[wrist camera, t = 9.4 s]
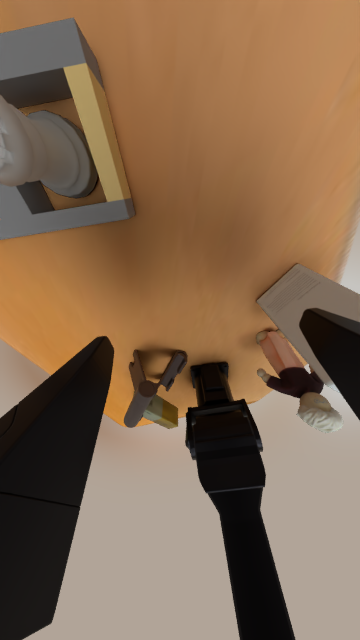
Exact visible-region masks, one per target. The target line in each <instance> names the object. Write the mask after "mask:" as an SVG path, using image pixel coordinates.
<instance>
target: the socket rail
mask: <svg viewBox="0 0 360 640" xmlns="http://www.w3.org/2000/svg"><path fill="white" fill-rule="evenodd" d="M0 95H1V96H2V97H3V98H4V99H5V101H6V102H7V103H8V104H11V105H13V106H14V107H15V108H22V107H27V106H32V105H37V104H42V103H47V102H52V101H57V100H62V99H67V98H73V99H74V102H75V105H76V108H77V111H78V114H79V117H80V120H81V123H82V126H83V130H84V133H85V136H86V139H87V142H88V145H89V148H90V151H91V154H92V157H93V160H94V163H95V166H96V169H97V172H98V175H99V178H100V181H101V184H102V187H103V190H104V193H105V196H106V200H107V202H104V203H98V204H92V205H86V206H81V207H75V208H69V209H63V210H57V211H55V210H54V208H53V206H52V204H51V202H50V200H49V198H48V196H47V194H46V192H45V190H44V188H43V186H42V184H41V182H40V180H38V181H33V182H27V181H26V182H25V183H24V184H22V185H17V186H13V187H10V186H6V185H3V184H0V219H1V220H0V240H2V239H8V238H14V237H21V236H27V235H33V234H39V233H45V232H51V231H57V230H63V229H70V228H76V227H82V226H88V225H94V224H100V223H106V222H113V221H119V220H125V219H130V218H131V217H133V216H134V215H135V210H134V206H133V202H132V198H131V194H130V190H129V186H128V182H127V179H126V175H125V171H124V167H123V163H122V159H121V155H120V151H119V147H118V143H117V139H116V135H115V131H114V127H113V123H112V119H111V115H110V111H109V107H108V103H107V99H106V95H105V91H104V87H103V83H102V79H101V75H100V72H99V68H98V64H97V60H96V57H95V56H94V54H93V52H92V50H91V48H90V46H89V45H88V43H87V41H86V39H85V37H84V36H83V34H82V32H81V30H80V28H79V27H78V25H77V23H76V21H75V19H74V18H70V19H65V20H60V21H56V22H51V23H47V24H42V25H37V26H33V27H28V28H23V29H19V30H14V31H10V32H5V33H0Z"/></svg>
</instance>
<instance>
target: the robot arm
mask: <svg viewBox="0 0 360 640" xmlns="http://www.w3.org/2000/svg"><path fill="white" fill-rule="evenodd" d="M299 328H300V330H301V332H302V334H303V335H304V337H305V339H306V341H307V343H308V345H309V346H310V348H311V350H312V352H313V354H314V355H315V357H316V358H317V360H318V361H319V363H320V364H321V366H322V367H323V369H324V370H325V372H326V373H327V374H328V376H329V377H330V379H331V380H332V382H333V383H334V384H335V386H336V387H337V389H338V390H339V392H340V393H341V394H342V396H343V397H344V399H345V400H346V402H347V403H348V404H349V406H350V407H351V409H352V410H353V412H354V413H355V414H356V416H357V417H358V419H359V420H360V322H358V321H355V320H352V319H349V318H346V317H343V316H340V315H337V314H334V313H331V312H328V311H325V310H322V309H319V308H309V309H306V310H305V311H304V312H303V315H302V317H301V320H300V322H299ZM113 358H114V348H113V346H112V344H111V342H110V340H109V339H108V337H107V336H100V337H97V338H95V339H94V340H93V341H92V342H91V343H89V344H88V345H87V346H86V347H85V348H83V349H82V350H81V351H80V352H79V353H77V354H76V355H75V356H74V357H73V358H71V359H70V360H69V361H68V362H67V363H66V364H64V365H63V366H62V367H61V368H60V369H58V370H57V371H56V372H55V373H54V374H52V375H51V376H50V377H49V378H48V379H46V380H45V381H44V382H43V383H42V384H41V385H39V386H38V387H37V388H36V389H35V390H33V391H32V392H31V393H30V394H29V395H28V396H26V397H25V398H24V399H23V400H22V401H20V402H19V404H17V405H16V406H14V407H13V408H12V409H11V410H10V411H8V412H7V413H6V414H5V415H4V416H2V417H1V418H0V640H22V639H24V638H26V637H28V636H29V635H31V634H33V633H35V632H37V631H39V630H40V629H42V628H44V627H46V626H48V625H49V624H51V623H52V620H53V617H54V613H55V610H56V606H57V602H58V597H59V593H60V589H61V585H62V581H63V577H64V573H65V568H66V564H67V560H68V556H69V552H70V548H71V544H72V540H73V536H74V531H75V527H76V523H77V519H78V515H79V511H80V506H81V502H82V498H83V494H84V489H85V485H86V481H87V477H88V473H89V469H90V465H91V461H92V456H93V452H94V448H95V444H96V440H97V436H98V432H99V427H100V423H101V419H102V415H103V411H104V407H105V403H106V399H107V395H108V390H109V386H110V381H111V374H112V366H113ZM228 367H229V366H228V363H226V362H225V363H217V364H209V365H201V366H193V367H191V368H190V369H191V376H192V383H193V388H194V389H196V397H197V404H198V407H193V408H191V407H188V412H187V413H186V422H187V427H186V440H185V443H186V446H187V447H188V449H189V450H190V453H191V457H192V459H193V460H196V461H197V468H198V476H199V479H200V482H201V485H202V487H203V488H204V490H205V492H206V493H208V495H209V497H210V498H211V500H212V502H213V504H214V505H215V507H216V509H217V510H218V512H219V514H220V521H221V527H222V533H223V538H224V545H225V551H226V557H227V563H228V570H229V576H230V582H231V588H232V593H233V600H234V606H235V612H236V618H237V624H238V630H239V637H240V640H295V637H294V633H293V629H292V625H291V622H290V618H289V614H288V611H287V607H286V603H285V600H284V596H283V592H282V589H281V585H280V582H279V578H278V574H277V571H276V567H275V563H274V560H273V556H272V552H271V548H270V545H269V541H268V537H267V534H266V530H265V526H264V523H263V519H262V515H261V512H260V506H261V497H262V491H263V487H265V478H266V474H265V469H264V465H263V462H262V458H261V455H260V452H262V451H263V447H262V442H261V438H260V435H259V431H258V429H257V426H256V424H255V422H254V419H253V417H252V415H251V413H250V410H249V408H248V406H247V403H246V401H245V399H241V400H237V401H234V400H233V397H232V393H231V390H230V387H229V384H228Z"/></svg>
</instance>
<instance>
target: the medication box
mask: <svg viewBox="0 0 360 640" xmlns="http://www.w3.org/2000/svg"><path fill="white" fill-rule="evenodd" d="M134 395H135V391H134ZM134 395H133V397H134ZM143 417H144V418H146V419H148V420H151V421H153V422H155V423H157V424H159V425H161V426H164V427H166V428H168V429H170V428H174V427H177V426H178V408H176V407H175V406H173V405H172V404H170V403H169V402H167V401H165V400H164V399H162V398H161V397H159V396H158V395H155V396H154V398H152V400H151V401H150V403H149V405H148V406H147V408H146V410H145V412H144V413H143Z"/></svg>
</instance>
